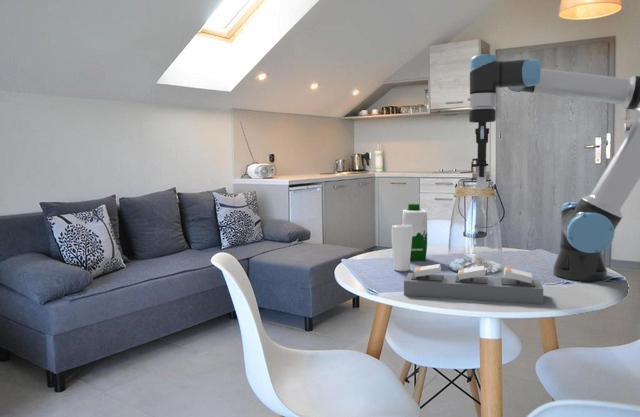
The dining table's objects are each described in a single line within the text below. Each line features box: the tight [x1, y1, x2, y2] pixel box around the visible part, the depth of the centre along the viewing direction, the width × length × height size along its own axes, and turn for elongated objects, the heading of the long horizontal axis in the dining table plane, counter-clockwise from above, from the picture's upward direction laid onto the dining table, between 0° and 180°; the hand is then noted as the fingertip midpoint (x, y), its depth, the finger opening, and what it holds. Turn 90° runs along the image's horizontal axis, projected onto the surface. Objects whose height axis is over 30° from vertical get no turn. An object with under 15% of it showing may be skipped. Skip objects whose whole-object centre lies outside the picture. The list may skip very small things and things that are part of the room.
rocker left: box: [413, 263, 442, 277], centre depth 152 cm, size 7×5×2 cm
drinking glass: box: [391, 224, 412, 272], centre depth 178 cm, size 7×7×15 cm
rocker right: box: [503, 266, 534, 283], centre depth 145 cm, size 7×5×2 cm
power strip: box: [403, 272, 544, 305], centre depth 149 cm, size 36×10×5 cm, turn 73°
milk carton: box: [402, 203, 428, 262], centre depth 195 cm, size 9×9×20 cm
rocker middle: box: [457, 265, 486, 280], centre depth 148 cm, size 7×5×2 cm
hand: (481, 187), depth 162 cm, fingers closed
